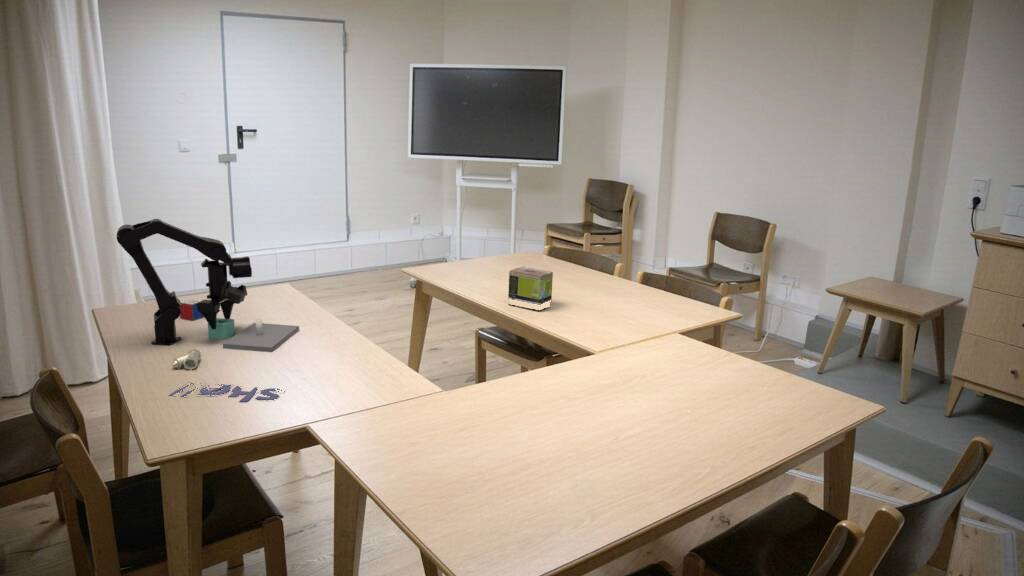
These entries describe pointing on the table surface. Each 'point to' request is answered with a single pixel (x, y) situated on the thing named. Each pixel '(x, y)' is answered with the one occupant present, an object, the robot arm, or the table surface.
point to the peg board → (261, 337)
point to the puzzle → (190, 310)
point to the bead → (222, 329)
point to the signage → (235, 391)
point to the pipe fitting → (187, 360)
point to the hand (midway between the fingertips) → (220, 324)
